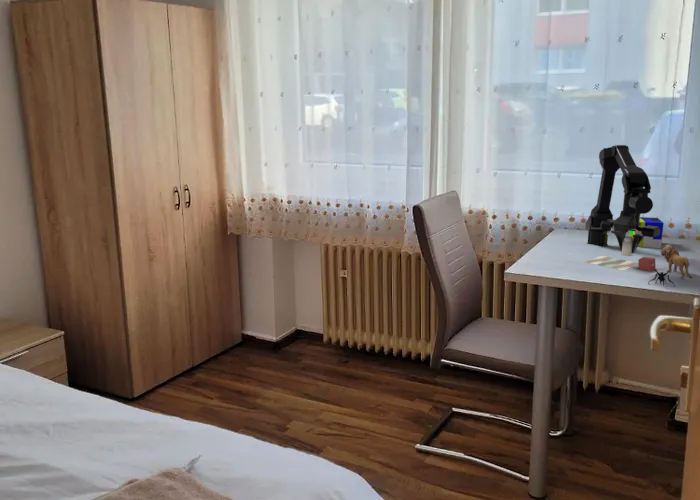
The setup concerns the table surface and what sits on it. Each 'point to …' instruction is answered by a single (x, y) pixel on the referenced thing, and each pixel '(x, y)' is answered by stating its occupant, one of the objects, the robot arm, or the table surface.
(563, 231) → the table surface
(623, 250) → the pawn
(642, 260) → the die
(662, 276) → the creature
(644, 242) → the puzzle toy
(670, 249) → the lion figurine
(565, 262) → the table surface
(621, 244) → the robot arm
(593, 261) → the board
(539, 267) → the table surface
